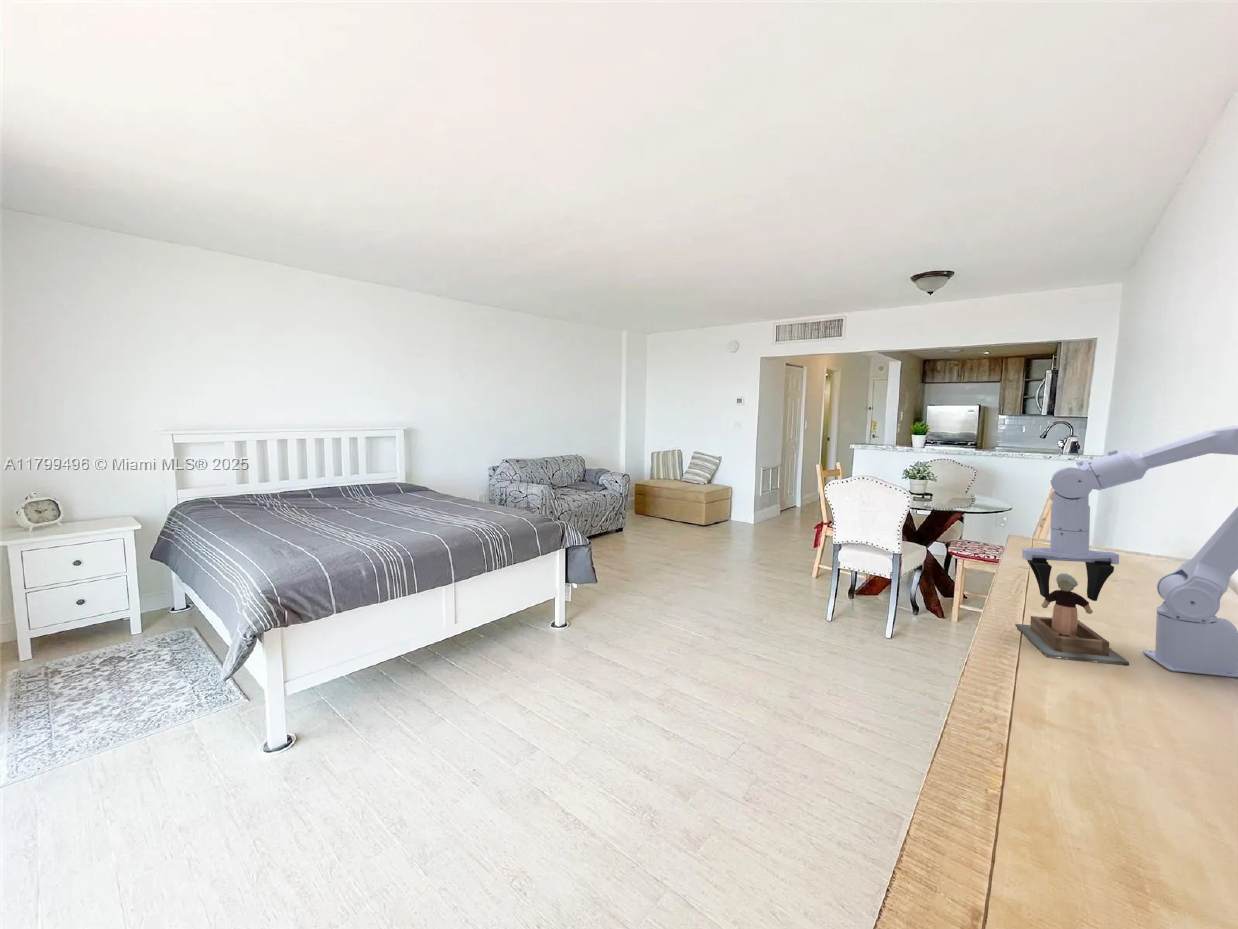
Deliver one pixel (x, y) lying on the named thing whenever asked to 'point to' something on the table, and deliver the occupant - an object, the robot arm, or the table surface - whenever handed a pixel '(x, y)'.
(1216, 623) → the robot arm
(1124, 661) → the wooden tray
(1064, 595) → the grandmother figurine
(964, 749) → the table surface
